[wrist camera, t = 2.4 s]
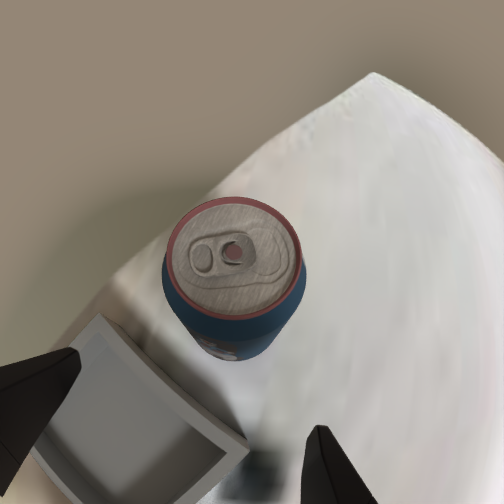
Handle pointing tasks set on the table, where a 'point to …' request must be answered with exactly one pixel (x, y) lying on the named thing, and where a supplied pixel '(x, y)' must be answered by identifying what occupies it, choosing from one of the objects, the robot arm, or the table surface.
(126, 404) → the tray
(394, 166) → the table surface
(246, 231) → the soda can
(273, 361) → the table surface
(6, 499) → the table surface
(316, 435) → the robot arm
